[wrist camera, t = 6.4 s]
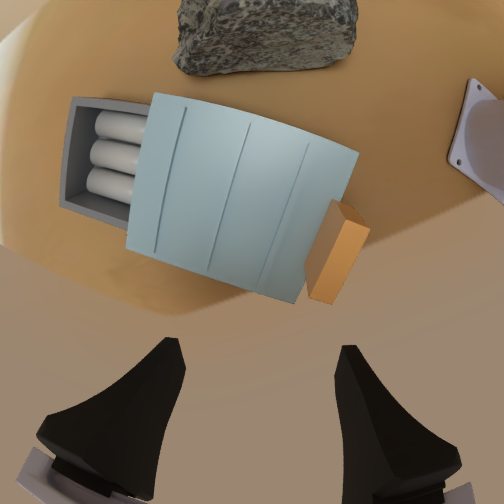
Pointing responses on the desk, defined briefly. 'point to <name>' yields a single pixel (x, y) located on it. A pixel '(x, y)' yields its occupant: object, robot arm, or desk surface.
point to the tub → (102, 157)
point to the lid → (244, 200)
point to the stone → (263, 34)
